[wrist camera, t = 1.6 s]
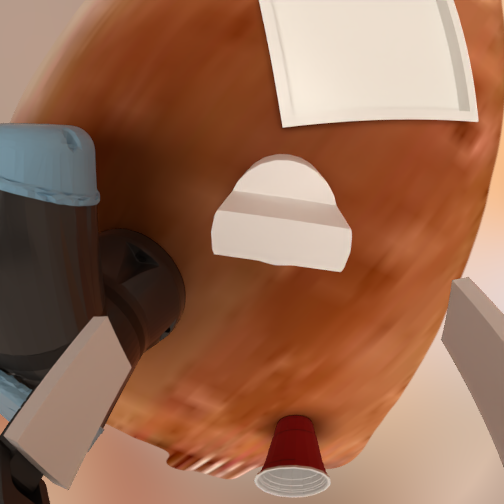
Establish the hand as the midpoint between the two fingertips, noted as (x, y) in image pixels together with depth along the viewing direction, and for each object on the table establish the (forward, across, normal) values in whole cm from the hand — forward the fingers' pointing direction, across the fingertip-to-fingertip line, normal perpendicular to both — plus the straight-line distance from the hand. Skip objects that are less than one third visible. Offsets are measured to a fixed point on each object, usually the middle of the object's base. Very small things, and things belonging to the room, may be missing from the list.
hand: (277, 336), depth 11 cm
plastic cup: (+22, -2, -36) cm, 42 cm away
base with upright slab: (+22, 0, 0) cm, 22 cm away
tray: (+22, +11, +17) cm, 29 cm away
